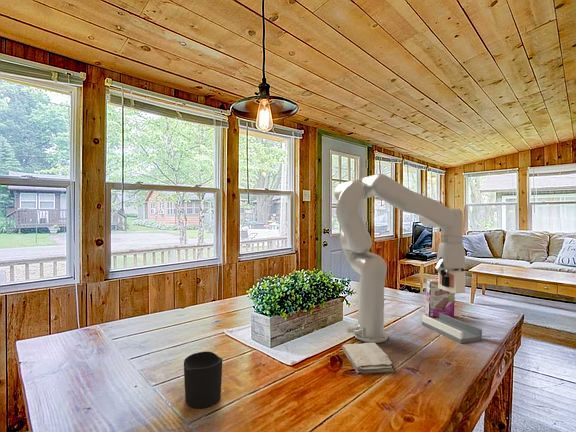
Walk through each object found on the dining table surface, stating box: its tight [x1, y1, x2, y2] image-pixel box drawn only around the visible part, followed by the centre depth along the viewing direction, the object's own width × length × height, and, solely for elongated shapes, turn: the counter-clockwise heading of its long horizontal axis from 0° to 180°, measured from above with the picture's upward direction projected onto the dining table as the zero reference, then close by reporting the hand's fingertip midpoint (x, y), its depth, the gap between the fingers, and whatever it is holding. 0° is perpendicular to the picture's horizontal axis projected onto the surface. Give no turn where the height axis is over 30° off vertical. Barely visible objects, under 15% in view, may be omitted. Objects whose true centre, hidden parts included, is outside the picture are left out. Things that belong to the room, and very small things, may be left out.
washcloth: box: [341, 342, 394, 374], centre depth 105 cm, size 12×18×3 cm, turn 7°
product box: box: [437, 268, 466, 295], centre depth 129 cm, size 9×5×8 cm, turn 18°
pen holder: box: [183, 350, 223, 409], centre depth 82 cm, size 9×9×10 cm
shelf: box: [421, 313, 483, 344], centre depth 129 cm, size 20×10×4 cm, turn 18°
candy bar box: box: [425, 278, 456, 319], centre depth 149 cm, size 11×5×16 cm, turn 84°
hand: (451, 285), depth 129 cm, fingers closed on product box, 4 cm apart
